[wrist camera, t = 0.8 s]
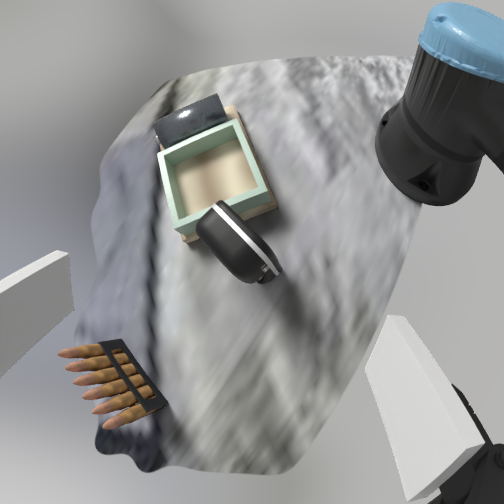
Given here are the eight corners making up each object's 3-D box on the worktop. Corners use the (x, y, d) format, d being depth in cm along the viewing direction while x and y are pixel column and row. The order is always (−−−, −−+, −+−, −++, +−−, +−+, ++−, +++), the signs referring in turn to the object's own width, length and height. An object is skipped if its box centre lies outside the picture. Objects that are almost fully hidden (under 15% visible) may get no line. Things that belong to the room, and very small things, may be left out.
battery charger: (221, 251, 34) (181, 223, 23) (244, 229, 34) (214, 191, 24) (260, 294, 33) (236, 284, 22) (285, 270, 33) (273, 249, 22)
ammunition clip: (113, 346, 35) (50, 351, 23) (121, 338, 35) (57, 341, 23) (160, 409, 32) (104, 439, 20) (168, 402, 32) (113, 432, 20)
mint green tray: (235, 110, 39) (224, 81, 32) (277, 207, 34) (270, 184, 28) (162, 142, 40) (142, 119, 34) (187, 243, 36) (163, 229, 29)
